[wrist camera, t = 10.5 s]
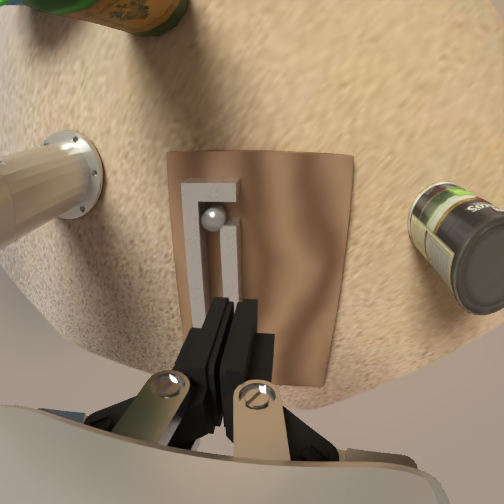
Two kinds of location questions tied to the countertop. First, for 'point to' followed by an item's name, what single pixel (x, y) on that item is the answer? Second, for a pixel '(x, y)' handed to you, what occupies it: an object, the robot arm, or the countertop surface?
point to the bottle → (119, 13)
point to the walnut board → (276, 246)
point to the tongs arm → (227, 248)
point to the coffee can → (461, 244)
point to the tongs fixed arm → (201, 235)
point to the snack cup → (11, 2)
